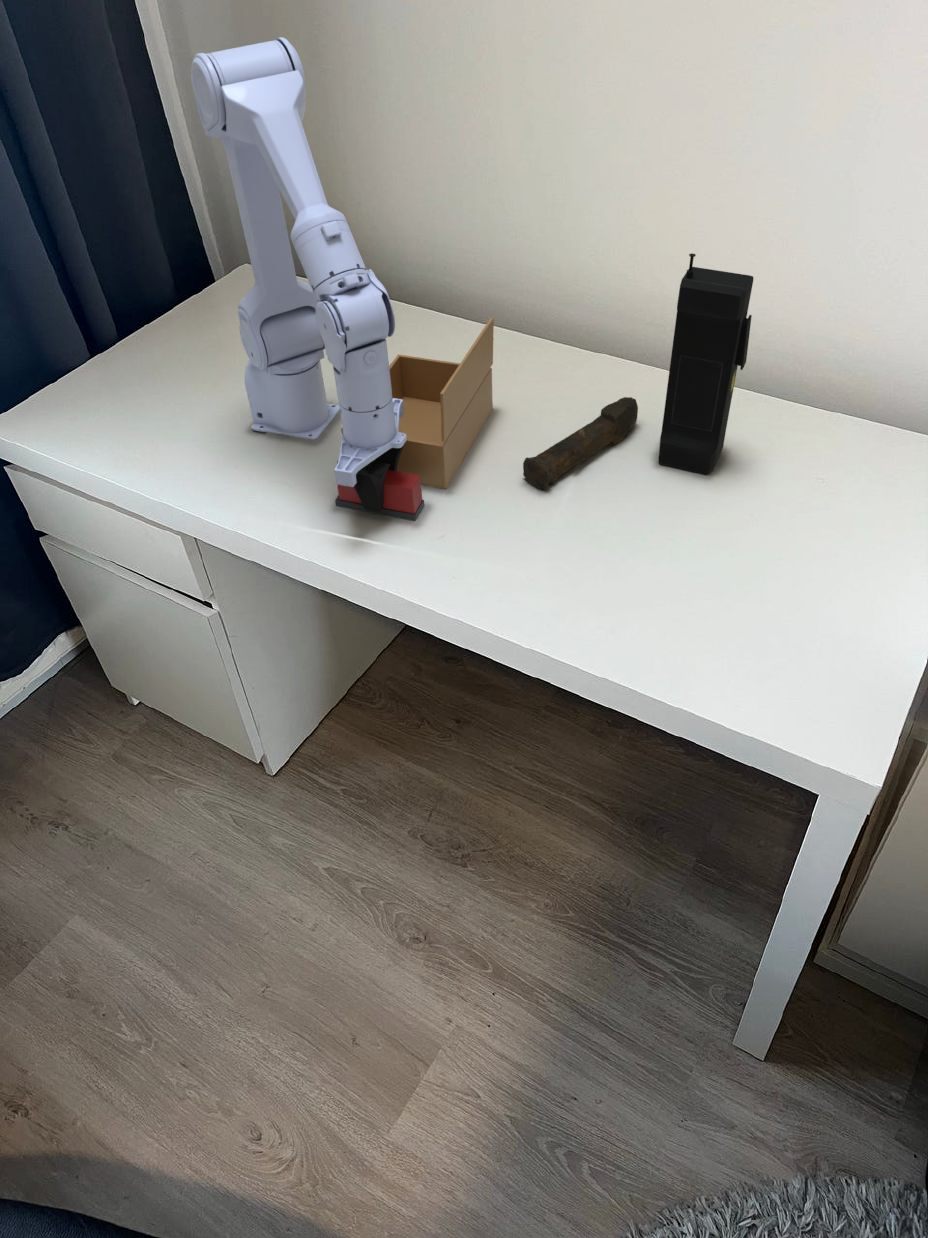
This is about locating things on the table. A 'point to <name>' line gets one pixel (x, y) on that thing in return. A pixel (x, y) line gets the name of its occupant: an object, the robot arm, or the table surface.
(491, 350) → the flap
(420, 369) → the carton
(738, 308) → the portable radio
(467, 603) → the table surface
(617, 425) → the brown rough bar
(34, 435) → the table surface
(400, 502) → the stapler
